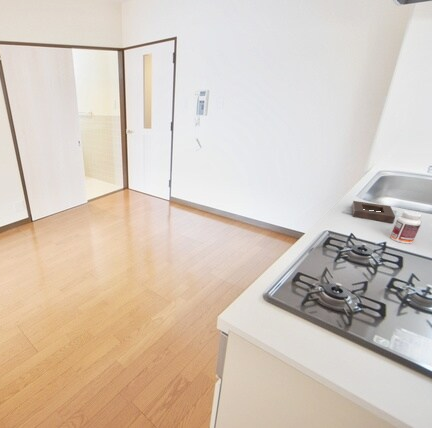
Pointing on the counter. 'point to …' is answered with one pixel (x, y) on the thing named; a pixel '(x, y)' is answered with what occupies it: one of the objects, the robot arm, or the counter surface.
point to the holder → (383, 216)
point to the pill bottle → (406, 227)
